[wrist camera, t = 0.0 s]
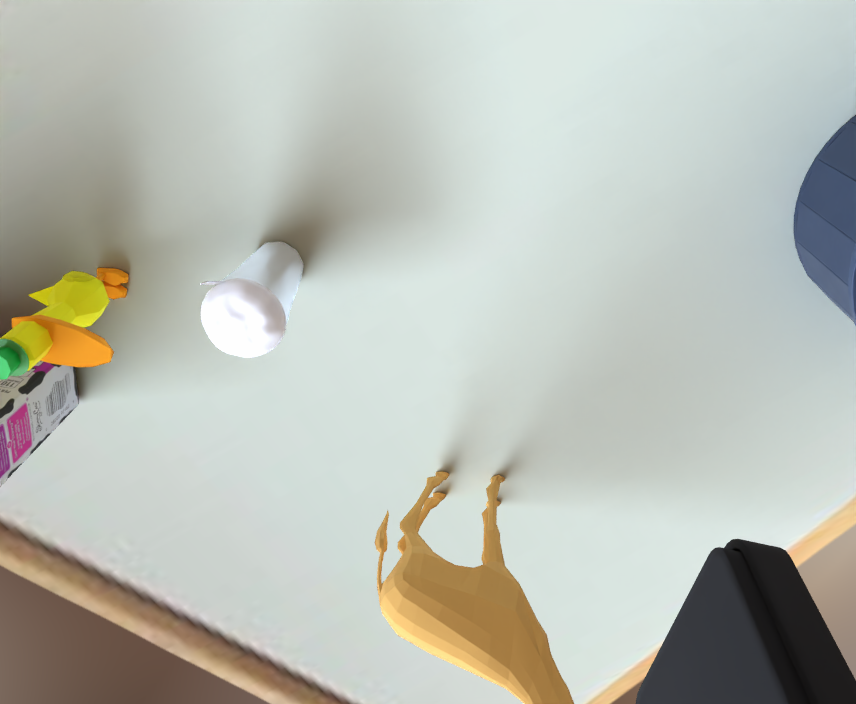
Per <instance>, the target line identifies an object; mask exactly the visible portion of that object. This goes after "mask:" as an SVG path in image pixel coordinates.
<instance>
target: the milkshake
mask: <svg viewBox="0 0 856 704" xmlns="http://www.w3.org/2000/svg"><path fill="white" fill-rule="evenodd" d="M303 267H304V264H303V262H302V260H301V258H300V256H299V254H298V251H297V250H296V249H294V248H292V247H291V246H289V245H287V244H286V243H284V242H266V243H265V244H263V245H262V246H261V247H260V248H259V249H258V250H256V251H255V252H254V253H253V254H252V255H251V256H250V257H249V258H248V259H246V260H245V261H244V262H243V263H242V264H241V265H240V266H239V267H238V268H237V269H236V270H234V271H233V272H231V273H230V274H229V275H228V276H226V277H225V278H224V279H223V280H221V281H206V282H203V283H201V284H200V285H215V286H214V287H213V288H212V289H210V290H209V292H208V293H207V294H206V296H205V298H204V300H203V303H202V307H201V321H202V324H203V327H204V329H205V331H206V333H207V335H208V337H209V338H210V340H211V341H212V342H213V344H214V345H215V346H216V347H218V348H219V349H220V350H221V351H223V352H225V353H228V354H231V355H236V356H240V357H245V358H252V357H257V356H260V355H263V354H266V353H268V352H270V351H271V350H273V349H274V348H275V347H276V346H277V345H278V344H279V342H280V341H281V339H282V338H283V336H284V333H285V330H286V326H287V322H288V318H289V315H290V311H291V307H292V304H293V301H294V299H295V296H296V293H297V290H298V287H299V284H300V281H301V277H302V272H303Z"/></svg>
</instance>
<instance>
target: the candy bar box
mask: <svg viewBox="0 0 856 704" xmlns="http://www.w3.org/2000/svg"><path fill="white" fill-rule="evenodd" d="M0 338H1V337H0ZM78 404H79V398H78V388H77V383H76V370H75V367H72V366H65V365H58V364H52V363H48V362H44V361H39V362H38V363H37V364H36V365H35V366H33V367H32V368H31V369H30V370H29V371H27V372H26V373H24V374H23V375H21V376H9V377H8V378H7V379H2V380H0V487H1V486H2V485H3V484H4V483H5V481H6V480H7V479H8V478H9V477H10V476H11V475H12V473H13V472H14V471H16V470H17V469H18V467H19V466H20V465H21V464H22V463H24V462H25V460H26V459H27V458H28V457H29V456H30V455H31V454H32V453H33V452H34V451H35V450H36V448H38V447H39V446H40V444H41V443H42V442H43V441H44V440H45V439H46V438H47V437H48V436H49V435H50V434H51V433H52V432H53V431H54V430H55V429H56V428H57V426H58V425H59V424H60V423H61V422H62V421H63V420H64V419H65V418H66V417H67V416H68V415H69V414H70V413H71V412H72V411H73V409H74V408H75V407H77V406H78Z"/></svg>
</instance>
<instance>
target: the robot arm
mask: <svg viewBox="0 0 856 704" xmlns="http://www.w3.org/2000/svg"><path fill="white" fill-rule="evenodd" d="M636 704H856V680H855V678H854V677H853V675H852V673H851V671H850V669H849V667H848V665H847V663H846V661H845V659H844V658H843V656H842V654H841V652H840V650H839V648H838V646H837V644H836V642H835V640H834V639H833V637H832V635H831V633H830V631H829V629H828V628H827V625H826V623H825V621H824V620H823V618H822V616H821V614H820V612H819V610H818V609H817V606H816V604H815V603H814V601H813V599H812V597H811V595H810V593H809V591H808V589H807V587H806V585H805V584H804V582H803V580H802V578H801V576H800V574H799V572H798V570H797V568H796V567H795V565H794V563H793V561H792V559H791V557H790V556H789V554H788V553H787V552H786V551H785V550H783V549H781V548H779V547H774V546H769V545H764V544H760V543H755V542H750V541H745V540H741V539H733V540H731V541H730V542H728V543H727V545H726V546H725V547H724V548H720V547H719V548H715V549H713V550H712V551H711V553H710V554H709V556H708V558H707V560H706V561H705V563H704V565H703V567H702V569H701V571H700V573H699V575H698V577H697V579H696V581H695V583H694V585H693V587H692V588H691V590H690V592H689V594H688V596H687V598H686V600H685V602H684V604H683V606H682V608H681V610H680V612H679V613H678V615H677V617H676V619H675V621H674V623H673V625H672V627H671V629H670V631H669V633H668V635H667V637H666V639H665V640H664V642H663V644H662V646H661V648H660V650H659V652H658V654H657V656H656V658H655V660H654V662H653V664H652V665H651V667H650V669H649V671H648V673H647V675H646V677H645V679H644V681H643V683H642V685H641V687H640V689H639V691H638V694H637V699H636Z"/></svg>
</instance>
